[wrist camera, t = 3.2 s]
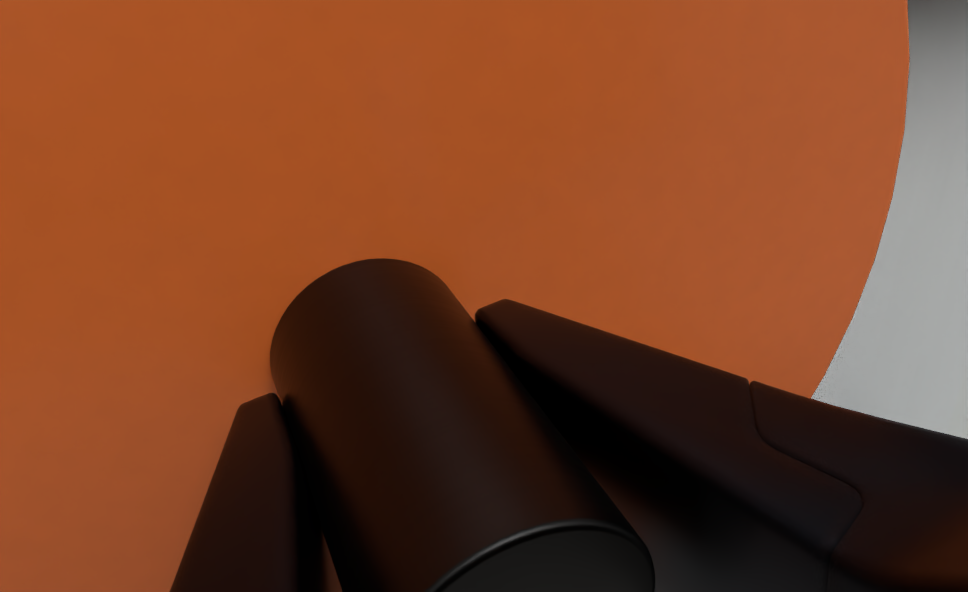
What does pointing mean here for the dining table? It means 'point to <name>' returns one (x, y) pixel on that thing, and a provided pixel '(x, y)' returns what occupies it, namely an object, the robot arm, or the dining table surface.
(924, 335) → the dining table surface
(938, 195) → the dining table surface
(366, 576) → the lid
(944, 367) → the dining table surface
